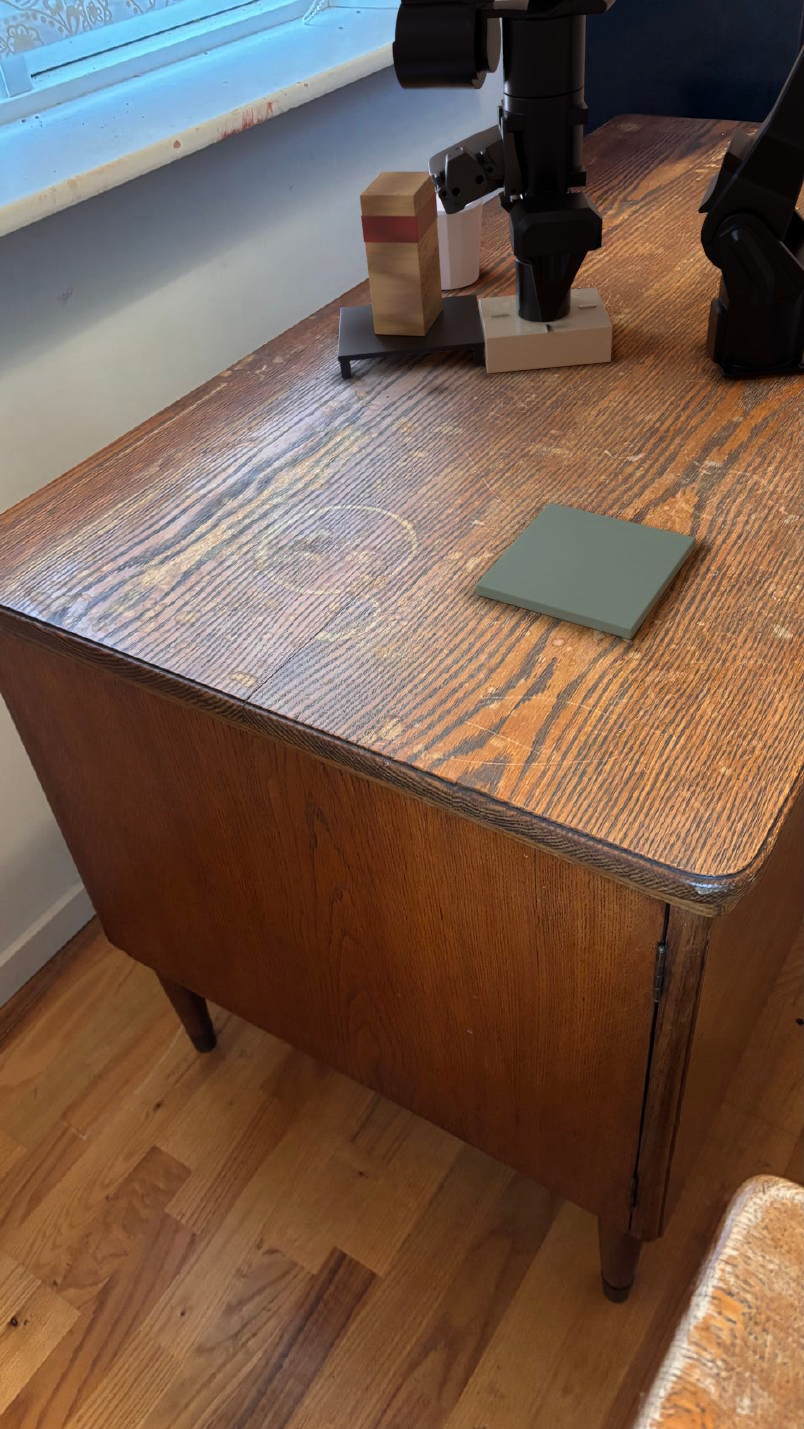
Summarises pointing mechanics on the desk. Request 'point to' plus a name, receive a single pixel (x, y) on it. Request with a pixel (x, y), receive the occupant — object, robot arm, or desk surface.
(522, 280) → the oven knob
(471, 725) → the desk surface
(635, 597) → the mat
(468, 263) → the white cup
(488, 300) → the panel
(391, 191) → the block
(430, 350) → the black low stand
